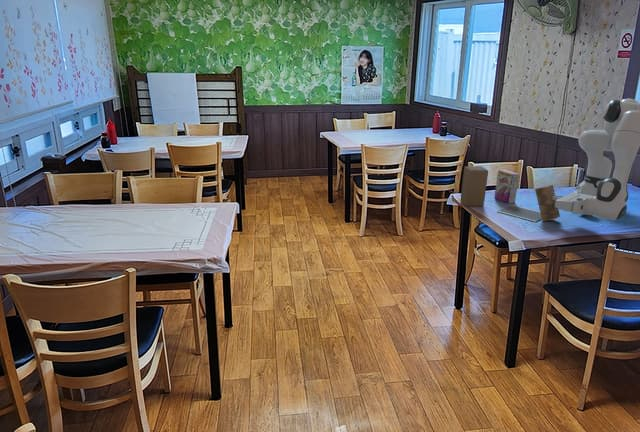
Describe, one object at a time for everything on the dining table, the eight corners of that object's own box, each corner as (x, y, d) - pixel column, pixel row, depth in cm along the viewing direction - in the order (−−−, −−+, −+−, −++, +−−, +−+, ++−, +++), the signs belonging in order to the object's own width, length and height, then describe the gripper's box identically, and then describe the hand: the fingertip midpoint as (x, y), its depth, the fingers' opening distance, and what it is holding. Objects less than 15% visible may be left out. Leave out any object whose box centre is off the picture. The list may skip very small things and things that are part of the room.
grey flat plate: (550, 215, 229) (550, 214, 229) (535, 222, 220) (535, 221, 219) (512, 205, 244) (512, 204, 243) (496, 212, 234) (497, 211, 234)
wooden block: (477, 201, 251) (482, 165, 244) (484, 206, 242) (489, 170, 235) (459, 201, 251) (463, 165, 244) (465, 206, 241) (470, 170, 235)
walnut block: (560, 216, 221) (552, 184, 220) (554, 219, 217) (547, 186, 217) (547, 218, 226) (540, 186, 225) (542, 220, 222) (534, 188, 221)
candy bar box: (493, 198, 256) (497, 169, 251) (500, 197, 258) (504, 169, 252) (508, 204, 246) (512, 174, 241) (515, 203, 248) (519, 173, 243)
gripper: (594, 193, 214) (563, 186, 224) (576, 201, 201) (545, 194, 211) (591, 205, 216) (561, 199, 226) (574, 215, 203) (543, 207, 213)
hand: (553, 197), depth 218 cm, fingers closed
